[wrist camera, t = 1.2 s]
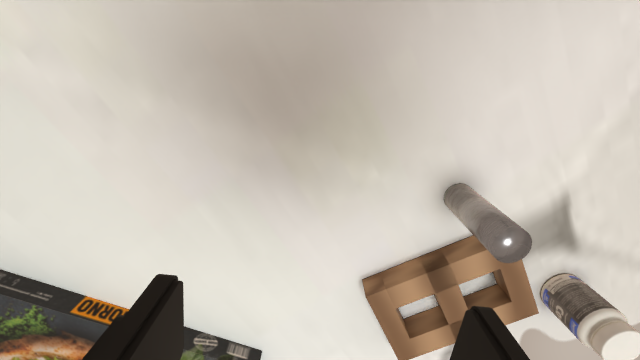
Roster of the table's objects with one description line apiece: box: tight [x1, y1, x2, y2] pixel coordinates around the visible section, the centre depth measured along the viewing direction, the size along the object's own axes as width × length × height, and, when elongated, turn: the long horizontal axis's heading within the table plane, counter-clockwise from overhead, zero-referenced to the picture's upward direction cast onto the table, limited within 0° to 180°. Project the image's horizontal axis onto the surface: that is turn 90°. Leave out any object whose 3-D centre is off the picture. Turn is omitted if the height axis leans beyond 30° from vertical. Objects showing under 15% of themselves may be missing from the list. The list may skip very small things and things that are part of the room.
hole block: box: [362, 235, 539, 360], centre depth 37 cm, size 16×10×3 cm, turn 115°
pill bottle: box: [541, 274, 640, 360], centre depth 34 cm, size 5×5×8 cm
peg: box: [444, 183, 532, 263], centre depth 30 cm, size 3×3×10 cm
